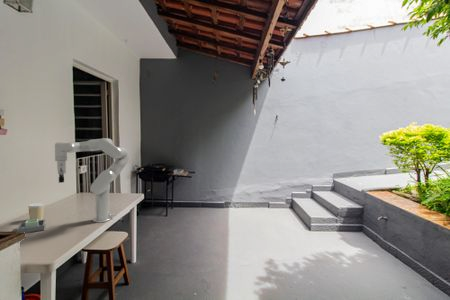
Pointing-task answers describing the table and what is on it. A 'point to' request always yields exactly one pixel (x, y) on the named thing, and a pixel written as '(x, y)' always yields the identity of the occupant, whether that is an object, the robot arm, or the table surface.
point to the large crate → (31, 229)
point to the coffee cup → (36, 211)
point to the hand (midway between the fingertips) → (61, 181)
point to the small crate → (31, 223)
